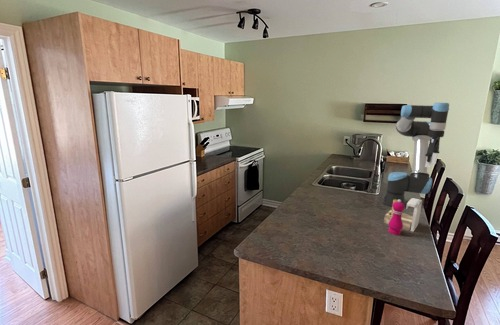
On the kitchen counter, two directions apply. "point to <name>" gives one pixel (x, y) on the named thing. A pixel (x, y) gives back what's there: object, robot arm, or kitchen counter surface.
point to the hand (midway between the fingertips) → (430, 165)
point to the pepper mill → (396, 218)
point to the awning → (415, 211)
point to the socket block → (404, 217)
